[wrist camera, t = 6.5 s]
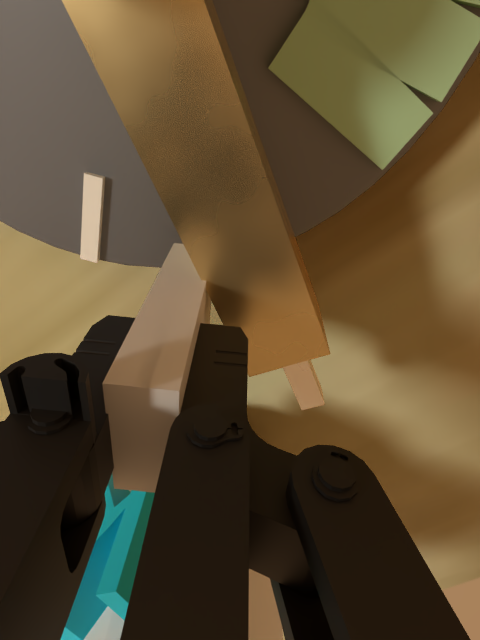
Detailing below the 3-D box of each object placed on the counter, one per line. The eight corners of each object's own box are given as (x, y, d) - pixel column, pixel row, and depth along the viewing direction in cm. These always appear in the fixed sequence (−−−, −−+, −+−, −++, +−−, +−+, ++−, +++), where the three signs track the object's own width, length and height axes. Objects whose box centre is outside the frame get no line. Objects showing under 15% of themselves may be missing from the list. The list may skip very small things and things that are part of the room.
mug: (226, 337, 18) (173, 689, 7) (296, 465, 22) (322, 804, 12) (23, 407, 21) (-214, 726, 10) (118, 507, 25) (14, 807, 15)
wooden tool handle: (-40, -220, 8) (-516, -688, 3) (148, -376, 7) (-127, -1443, 2) (251, 373, 16) (245, 507, 11) (363, 341, 15) (413, 474, 10)
